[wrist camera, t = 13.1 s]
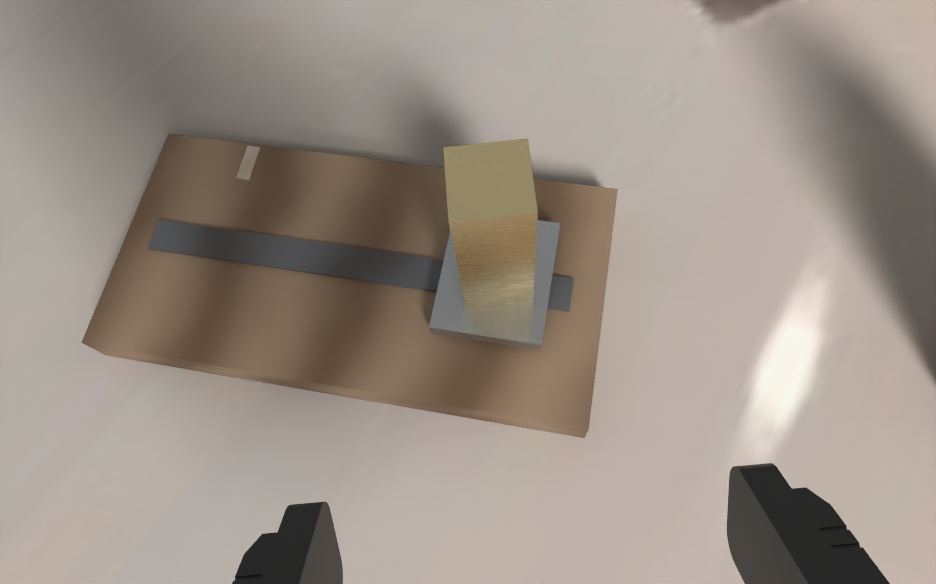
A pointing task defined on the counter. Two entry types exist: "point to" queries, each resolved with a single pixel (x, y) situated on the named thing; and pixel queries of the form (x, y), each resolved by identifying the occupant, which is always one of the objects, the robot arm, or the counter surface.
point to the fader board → (343, 284)
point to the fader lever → (494, 248)
